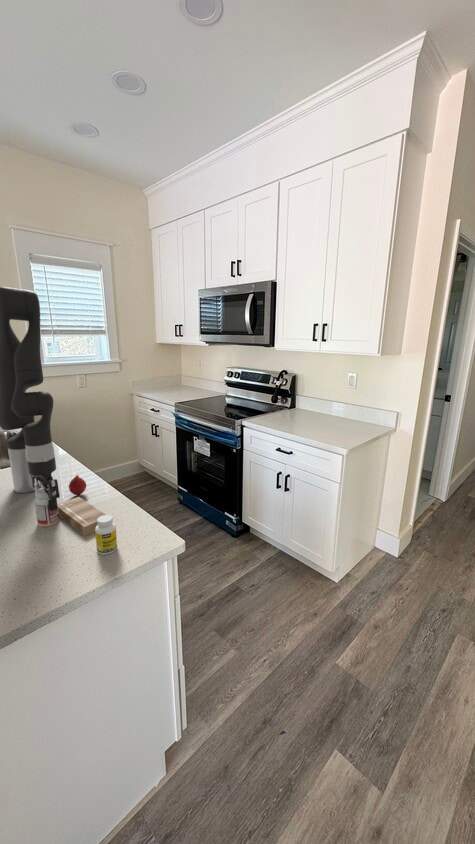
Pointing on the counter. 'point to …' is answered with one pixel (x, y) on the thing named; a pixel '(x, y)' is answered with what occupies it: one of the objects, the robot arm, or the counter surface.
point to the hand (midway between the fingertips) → (47, 505)
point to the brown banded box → (80, 515)
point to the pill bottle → (44, 509)
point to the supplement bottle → (105, 535)
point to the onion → (77, 486)
